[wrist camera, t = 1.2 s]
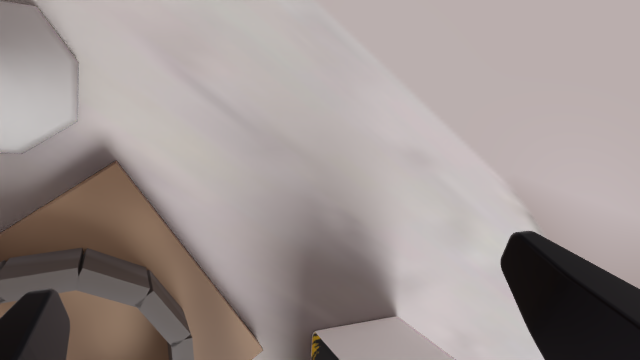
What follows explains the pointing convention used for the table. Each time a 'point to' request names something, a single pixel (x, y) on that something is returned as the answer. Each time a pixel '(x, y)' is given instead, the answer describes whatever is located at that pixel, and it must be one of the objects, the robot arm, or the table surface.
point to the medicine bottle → (375, 342)
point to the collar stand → (120, 278)
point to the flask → (33, 79)
